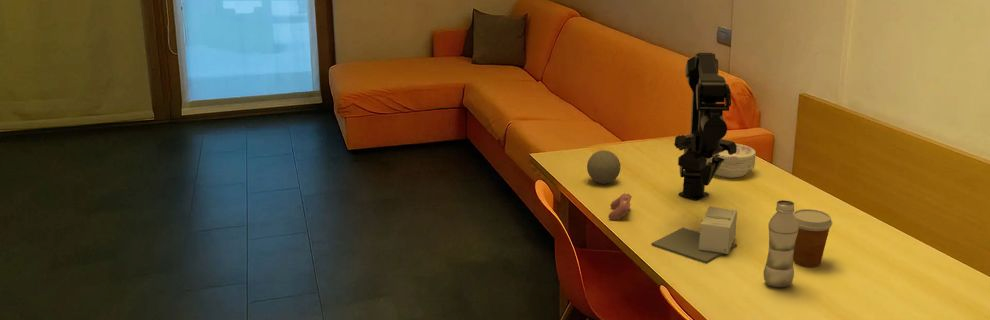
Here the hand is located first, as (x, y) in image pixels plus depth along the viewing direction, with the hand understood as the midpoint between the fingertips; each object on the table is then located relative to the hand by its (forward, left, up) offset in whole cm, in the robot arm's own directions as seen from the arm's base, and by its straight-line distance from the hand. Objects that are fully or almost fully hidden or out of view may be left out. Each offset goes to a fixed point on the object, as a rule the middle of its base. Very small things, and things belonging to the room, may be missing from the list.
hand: (705, 185), depth 234 cm
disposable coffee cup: (0, +29, -13) cm, 32 cm away
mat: (+11, +4, -12) cm, 17 cm away
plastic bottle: (+16, +30, -13) cm, 37 cm away
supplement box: (+1, +6, -8) cm, 10 cm away
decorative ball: (-11, -42, -13) cm, 45 cm away
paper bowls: (-44, -19, -13) cm, 49 cm away
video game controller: (+7, -22, -13) cm, 26 cm away
